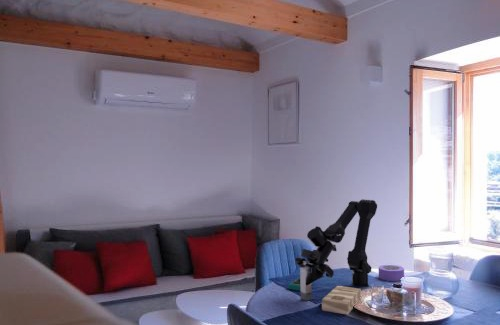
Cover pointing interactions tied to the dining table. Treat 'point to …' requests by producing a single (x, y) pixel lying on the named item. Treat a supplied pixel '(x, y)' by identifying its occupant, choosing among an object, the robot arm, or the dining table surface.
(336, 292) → the socket block
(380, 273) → the tape roll
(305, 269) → the square bit
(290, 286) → the digital multimeter
